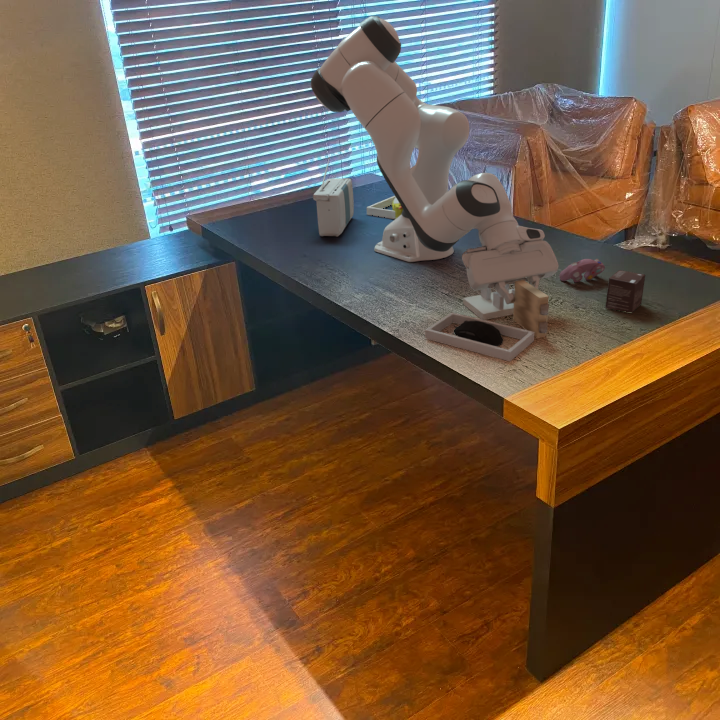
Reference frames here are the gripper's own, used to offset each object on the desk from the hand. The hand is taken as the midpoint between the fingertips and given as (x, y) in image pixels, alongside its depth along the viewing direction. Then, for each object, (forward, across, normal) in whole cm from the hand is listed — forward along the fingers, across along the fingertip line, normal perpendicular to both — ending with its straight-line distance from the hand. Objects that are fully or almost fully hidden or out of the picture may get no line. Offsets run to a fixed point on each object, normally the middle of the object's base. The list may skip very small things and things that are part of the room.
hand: (523, 300), depth 151 cm
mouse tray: (+6, -12, +1) cm, 14 cm away
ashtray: (-59, +12, +68) cm, 91 cm away
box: (+5, +24, +2) cm, 25 cm away
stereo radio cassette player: (-57, -16, +65) cm, 88 cm away
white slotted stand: (-3, 0, +10) cm, 11 cm away
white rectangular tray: (-60, +12, +68) cm, 91 cm away
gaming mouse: (+5, -12, +4) cm, 14 cm away
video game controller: (-7, +25, +15) cm, 30 cm away
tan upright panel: (+6, 0, +2) cm, 6 cm away
